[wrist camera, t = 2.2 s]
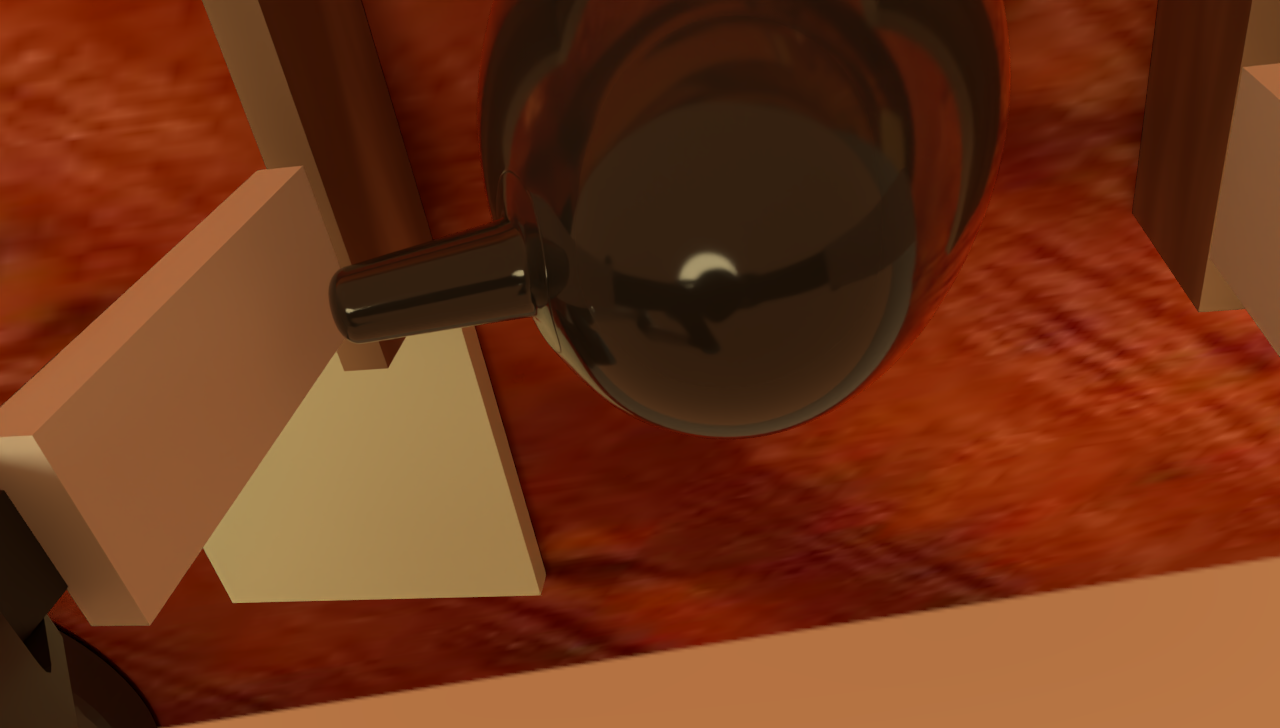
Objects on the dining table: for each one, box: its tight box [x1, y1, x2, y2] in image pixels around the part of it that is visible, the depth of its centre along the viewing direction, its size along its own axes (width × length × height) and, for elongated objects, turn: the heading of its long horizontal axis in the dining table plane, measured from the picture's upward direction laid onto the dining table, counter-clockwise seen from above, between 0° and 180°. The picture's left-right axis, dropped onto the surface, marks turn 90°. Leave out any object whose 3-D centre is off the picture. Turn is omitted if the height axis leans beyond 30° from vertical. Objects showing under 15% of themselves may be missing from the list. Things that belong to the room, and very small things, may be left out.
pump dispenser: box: [328, 0, 1011, 439], centre depth 18 cm, size 10×10×15 cm
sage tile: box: [203, 326, 546, 603], centre depth 34 cm, size 12×12×1 cm
